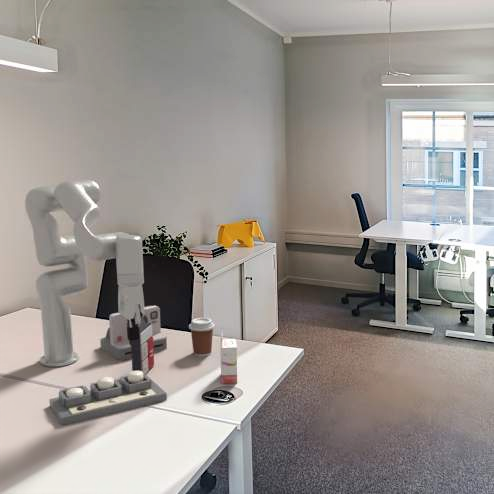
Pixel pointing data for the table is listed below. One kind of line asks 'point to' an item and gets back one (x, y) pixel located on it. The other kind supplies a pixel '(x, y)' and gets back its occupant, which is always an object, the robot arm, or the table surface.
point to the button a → (74, 392)
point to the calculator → (143, 349)
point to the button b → (105, 383)
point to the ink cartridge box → (228, 360)
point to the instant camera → (117, 334)
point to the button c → (135, 377)
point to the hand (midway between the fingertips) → (133, 339)
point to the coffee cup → (202, 336)
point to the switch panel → (105, 400)
